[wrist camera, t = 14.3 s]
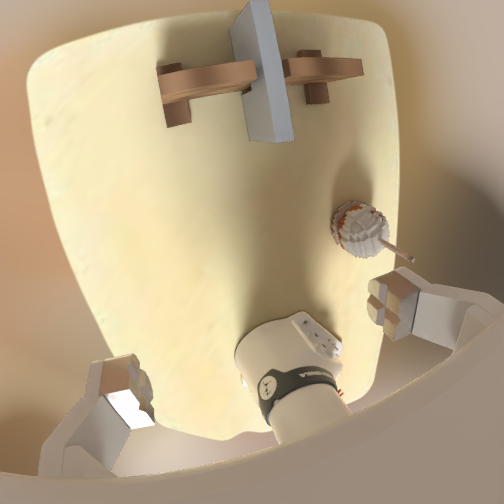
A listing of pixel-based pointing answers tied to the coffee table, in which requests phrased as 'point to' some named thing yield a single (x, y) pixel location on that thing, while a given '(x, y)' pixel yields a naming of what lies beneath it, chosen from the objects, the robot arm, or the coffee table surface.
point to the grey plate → (262, 74)
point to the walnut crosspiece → (248, 80)
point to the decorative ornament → (363, 231)
